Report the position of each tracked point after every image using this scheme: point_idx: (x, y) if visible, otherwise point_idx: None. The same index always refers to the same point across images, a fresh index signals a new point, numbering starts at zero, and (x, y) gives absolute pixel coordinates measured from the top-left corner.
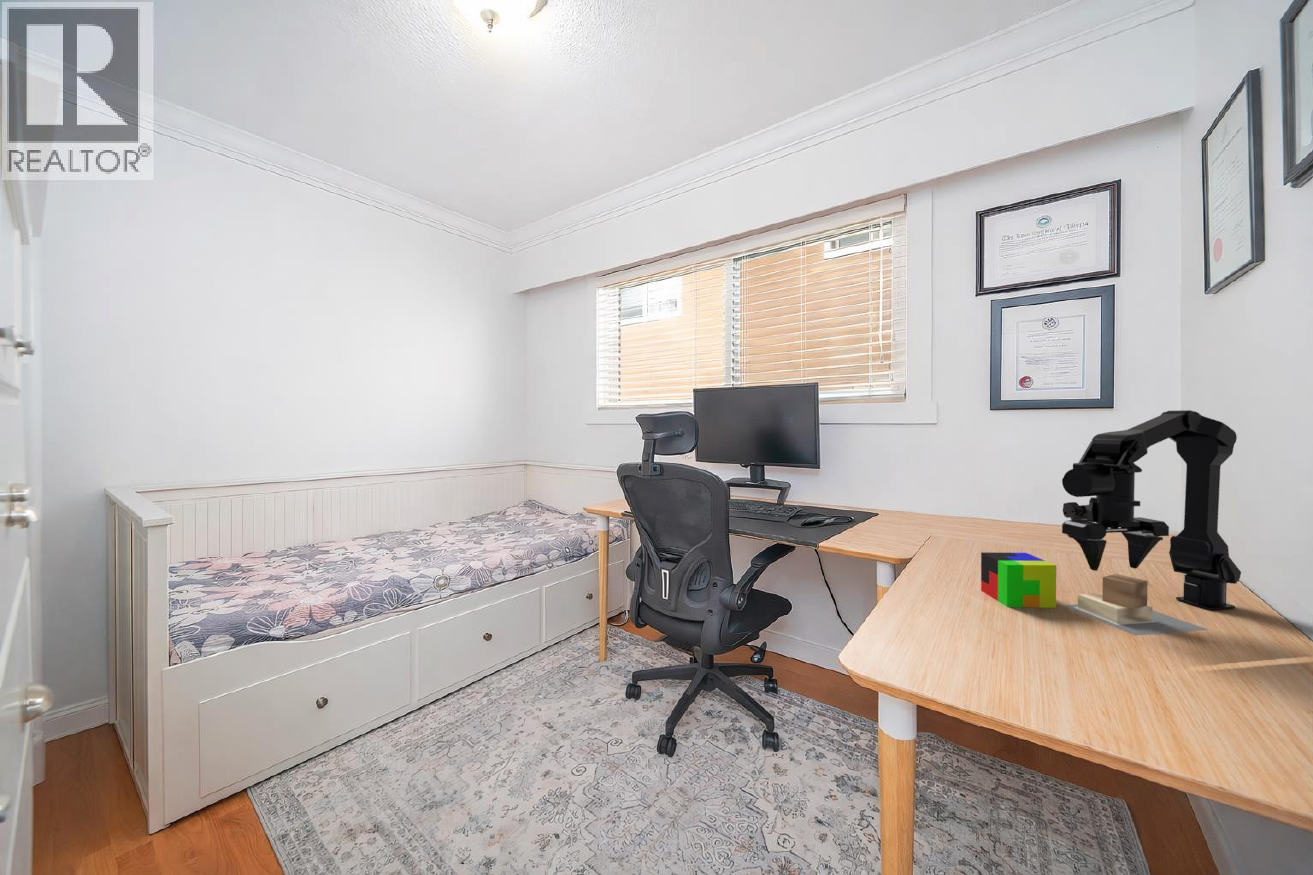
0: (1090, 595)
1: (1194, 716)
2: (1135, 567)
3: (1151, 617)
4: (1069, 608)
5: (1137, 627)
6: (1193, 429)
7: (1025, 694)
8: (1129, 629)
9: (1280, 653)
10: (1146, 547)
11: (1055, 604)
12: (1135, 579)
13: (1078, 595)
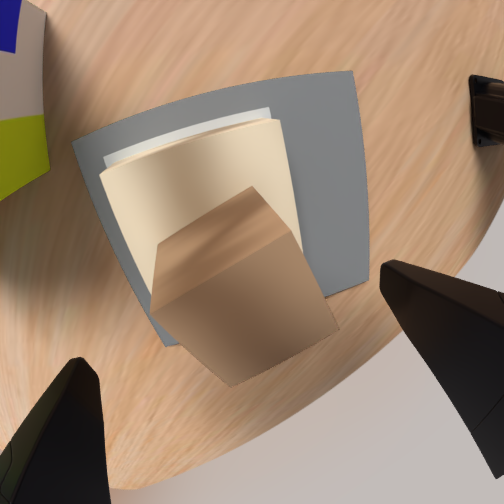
0: (147, 179)
1: (122, 463)
2: (383, 295)
3: None
4: (83, 171)
5: None
6: None
7: (7, 438)
8: None
9: (379, 336)
10: (469, 427)
11: (39, 174)
12: (303, 323)
13: (100, 176)
